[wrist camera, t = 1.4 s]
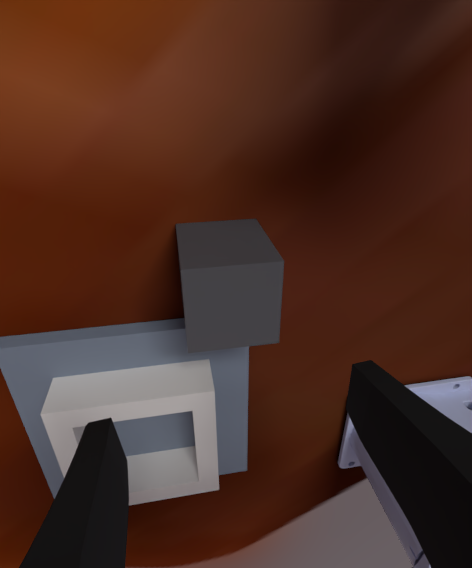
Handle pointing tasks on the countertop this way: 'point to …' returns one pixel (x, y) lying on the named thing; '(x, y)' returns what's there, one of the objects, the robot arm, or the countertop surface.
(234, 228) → the plug
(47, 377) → the socket plate
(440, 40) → the countertop surface
